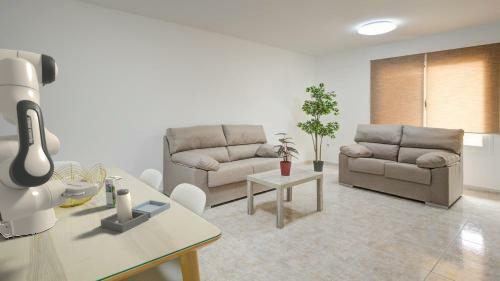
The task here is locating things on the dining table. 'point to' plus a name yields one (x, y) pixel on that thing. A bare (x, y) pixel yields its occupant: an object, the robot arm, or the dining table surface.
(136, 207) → the tray
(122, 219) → the canister
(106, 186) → the syrup box
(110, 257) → the dining table surface
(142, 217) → the frame
